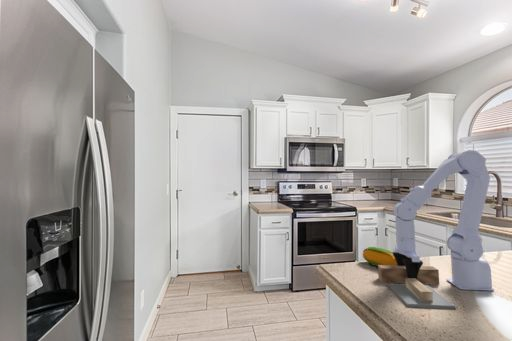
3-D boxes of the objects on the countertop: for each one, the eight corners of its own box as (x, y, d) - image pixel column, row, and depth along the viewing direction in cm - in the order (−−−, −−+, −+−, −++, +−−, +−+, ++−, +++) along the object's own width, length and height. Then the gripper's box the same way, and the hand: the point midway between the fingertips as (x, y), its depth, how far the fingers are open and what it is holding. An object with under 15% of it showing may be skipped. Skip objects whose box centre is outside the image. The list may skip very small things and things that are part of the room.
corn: (369, 242, 112) (414, 252, 94) (371, 259, 112) (416, 273, 94) (357, 245, 108) (402, 257, 91) (359, 263, 108) (404, 278, 90)
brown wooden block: (433, 281, 87) (432, 266, 87) (439, 285, 83) (438, 269, 84) (378, 279, 90) (377, 264, 90) (381, 283, 86) (381, 268, 86)
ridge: (416, 289, 80) (415, 278, 80) (433, 304, 70) (432, 291, 70) (405, 289, 80) (405, 278, 80) (421, 304, 70) (420, 291, 70)
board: (428, 287, 81) (427, 285, 81) (455, 309, 67) (455, 306, 67) (388, 286, 83) (388, 283, 83) (407, 306, 69) (407, 303, 69)
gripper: (385, 233, 95) (387, 269, 94) (402, 242, 81) (404, 284, 80) (405, 233, 94) (407, 270, 93) (425, 242, 80) (428, 285, 79)
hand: (407, 277), depth 87 cm, fingers open, 7 cm apart
